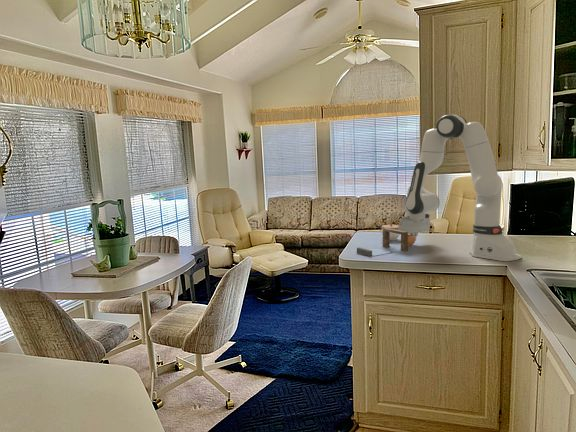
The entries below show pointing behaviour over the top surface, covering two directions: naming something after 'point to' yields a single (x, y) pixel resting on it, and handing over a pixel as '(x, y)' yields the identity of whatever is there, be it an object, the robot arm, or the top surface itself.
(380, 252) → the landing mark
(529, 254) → the top surface
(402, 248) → the bridge
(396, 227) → the lidded jar
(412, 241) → the ball
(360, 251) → the stopper
